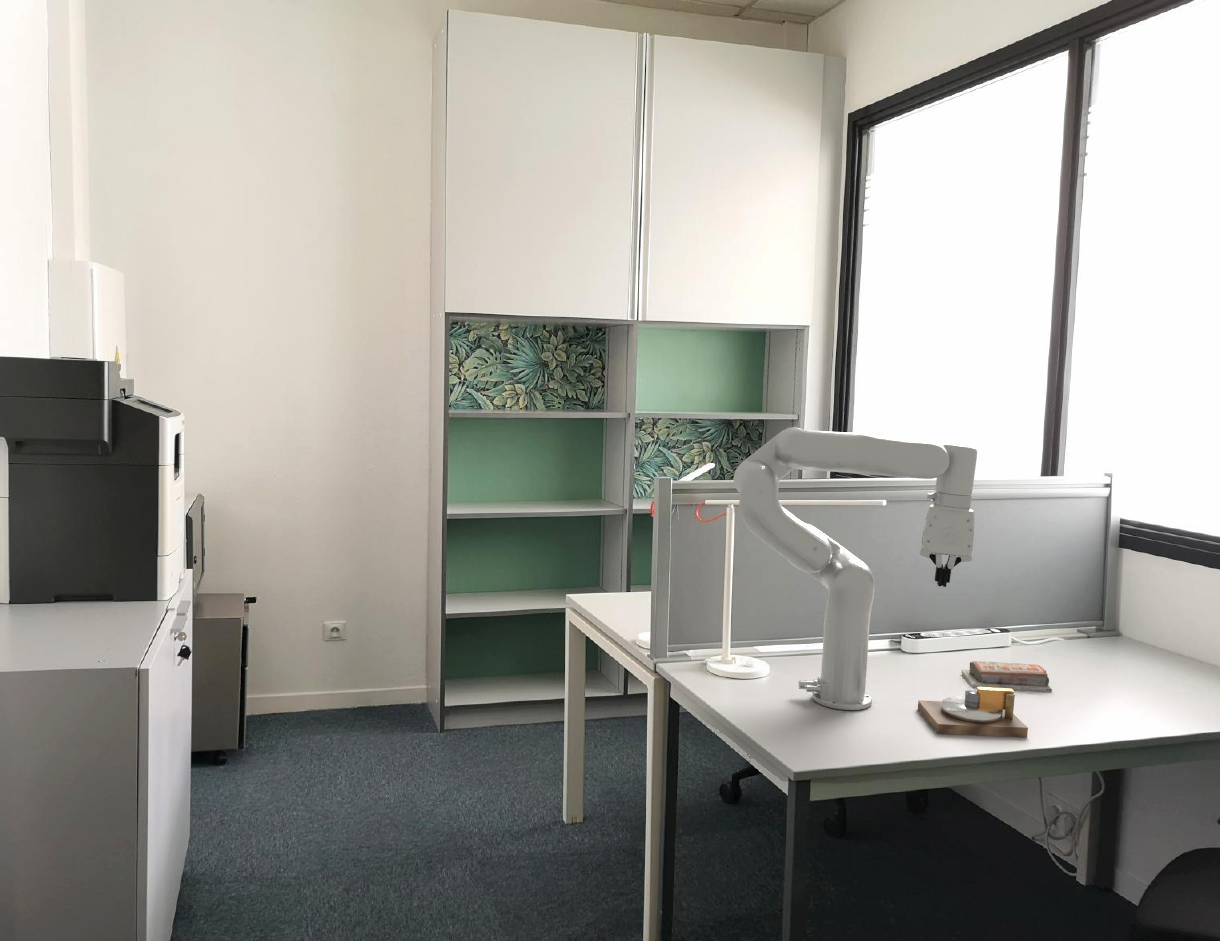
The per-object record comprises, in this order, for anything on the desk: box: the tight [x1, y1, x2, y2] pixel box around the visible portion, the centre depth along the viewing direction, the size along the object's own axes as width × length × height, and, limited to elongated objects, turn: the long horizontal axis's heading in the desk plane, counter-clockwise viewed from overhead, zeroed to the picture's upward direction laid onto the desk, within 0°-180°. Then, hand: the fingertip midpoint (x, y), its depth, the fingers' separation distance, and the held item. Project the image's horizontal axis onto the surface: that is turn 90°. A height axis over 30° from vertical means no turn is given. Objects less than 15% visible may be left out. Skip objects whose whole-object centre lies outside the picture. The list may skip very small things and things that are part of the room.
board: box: [917, 693, 1029, 738], centre depth 215 cm, size 18×14×7 cm
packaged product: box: [961, 660, 1053, 693], centre depth 243 cm, size 18×5×10 cm
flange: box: [941, 687, 1015, 723], centre depth 215 cm, size 14×12×5 cm
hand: (941, 585), depth 223 cm, fingers closed
